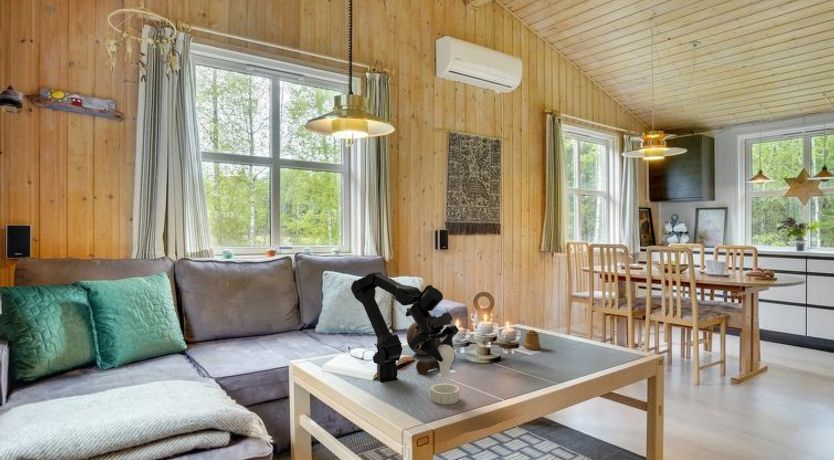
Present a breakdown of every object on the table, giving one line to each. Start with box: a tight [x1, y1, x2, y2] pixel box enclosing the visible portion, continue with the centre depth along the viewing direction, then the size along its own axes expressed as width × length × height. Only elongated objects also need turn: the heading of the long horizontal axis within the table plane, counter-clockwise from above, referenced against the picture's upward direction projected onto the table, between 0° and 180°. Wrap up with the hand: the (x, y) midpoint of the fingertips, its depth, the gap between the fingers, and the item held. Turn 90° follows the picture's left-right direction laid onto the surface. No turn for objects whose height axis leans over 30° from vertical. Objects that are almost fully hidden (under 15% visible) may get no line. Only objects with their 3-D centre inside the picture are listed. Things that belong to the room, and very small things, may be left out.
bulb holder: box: [430, 383, 460, 406], centre depth 155 cm, size 9×9×4 cm
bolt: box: [415, 358, 440, 376], centre depth 186 cm, size 6×5×15 cm
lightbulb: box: [437, 345, 456, 380], centre depth 155 cm, size 6×6×11 cm
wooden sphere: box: [406, 321, 441, 356], centre depth 206 cm, size 15×15×15 cm
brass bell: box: [523, 329, 541, 351], centre depth 218 cm, size 8×8×8 cm
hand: (448, 359), depth 154 cm, fingers closed on lightbulb, 6 cm apart
